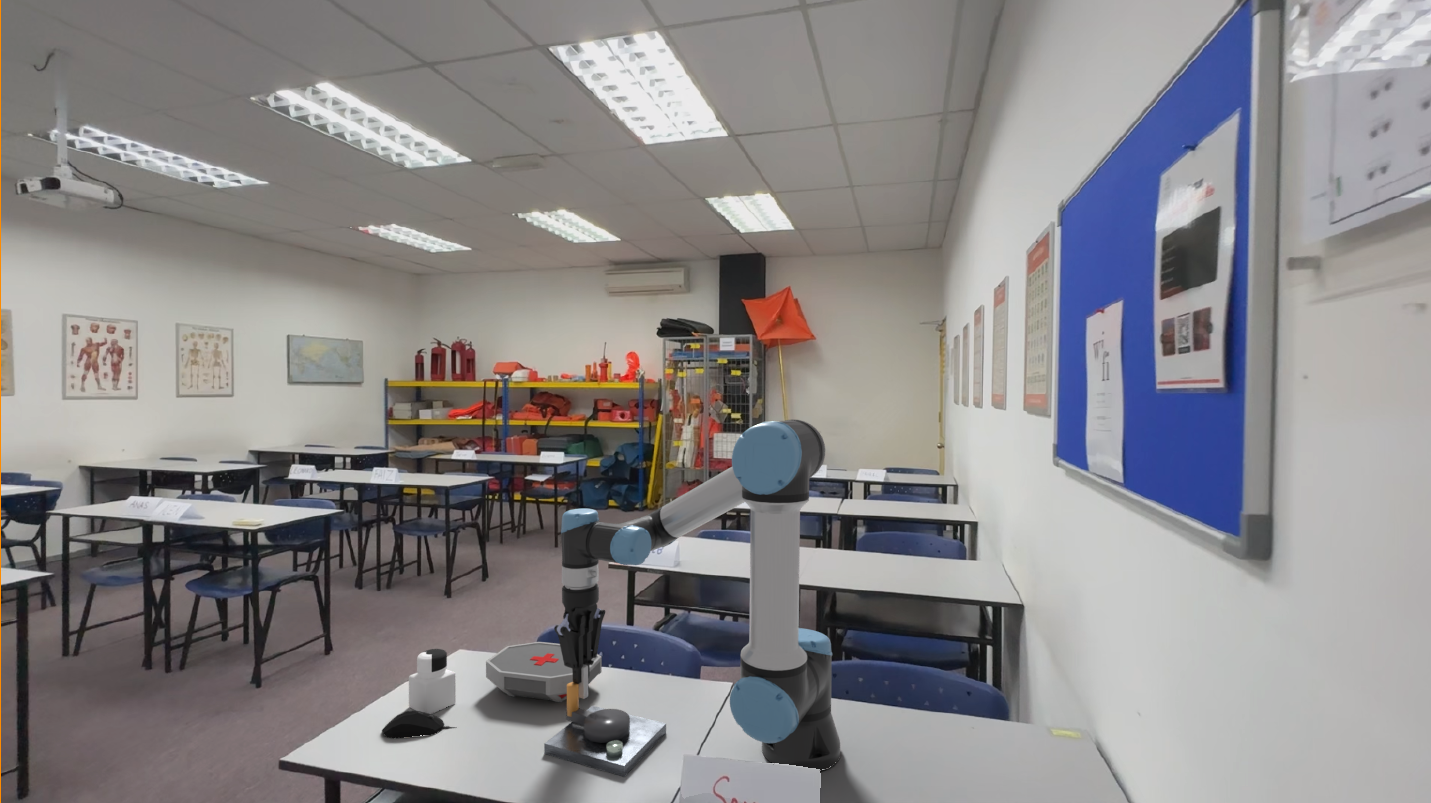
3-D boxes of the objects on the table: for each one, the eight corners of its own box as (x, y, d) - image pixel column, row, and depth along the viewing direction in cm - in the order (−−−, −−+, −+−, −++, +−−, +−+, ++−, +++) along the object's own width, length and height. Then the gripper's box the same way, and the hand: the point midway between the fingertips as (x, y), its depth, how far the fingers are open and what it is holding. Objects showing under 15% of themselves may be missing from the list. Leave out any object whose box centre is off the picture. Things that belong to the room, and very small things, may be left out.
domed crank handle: (638, 725, 127) (638, 691, 127) (610, 747, 119) (610, 710, 119) (583, 707, 134) (583, 674, 134) (552, 726, 126) (552, 692, 126)
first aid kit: (474, 702, 142) (576, 715, 136) (474, 669, 142) (576, 681, 136) (516, 668, 159) (608, 679, 153) (516, 639, 159) (608, 648, 153)
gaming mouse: (453, 737, 128) (452, 717, 128) (376, 741, 126) (376, 721, 126) (462, 721, 134) (462, 702, 134) (390, 724, 133) (389, 706, 133)
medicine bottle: (438, 694, 145) (438, 643, 145) (456, 703, 141) (455, 650, 141) (408, 707, 139) (407, 653, 139) (425, 717, 135) (425, 661, 135)
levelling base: (666, 732, 129) (666, 716, 129) (624, 776, 114) (624, 758, 114) (592, 714, 136) (592, 699, 136) (544, 753, 121) (544, 736, 121)
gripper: (571, 596, 124) (572, 714, 124) (614, 578, 134) (615, 687, 135) (544, 589, 128) (545, 704, 128) (588, 573, 138) (589, 679, 139)
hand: (581, 695), depth 132 cm, fingers closed
